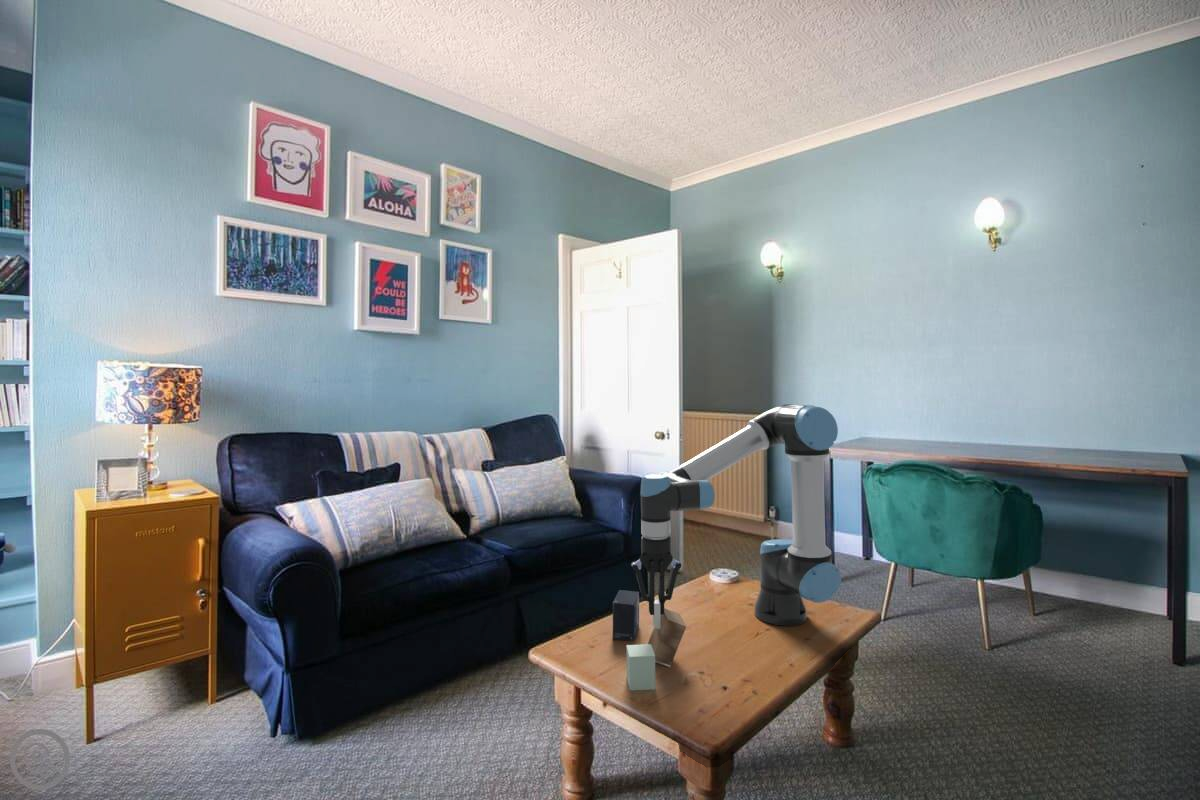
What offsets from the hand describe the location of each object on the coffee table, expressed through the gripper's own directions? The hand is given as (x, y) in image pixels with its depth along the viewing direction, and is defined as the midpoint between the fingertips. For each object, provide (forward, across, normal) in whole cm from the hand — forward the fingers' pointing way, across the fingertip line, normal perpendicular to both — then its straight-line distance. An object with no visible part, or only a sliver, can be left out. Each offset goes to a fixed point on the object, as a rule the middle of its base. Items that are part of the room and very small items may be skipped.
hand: (656, 626), depth 150 cm
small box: (+9, +6, -17) cm, 20 cm away
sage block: (+9, +6, +11) cm, 15 cm away
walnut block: (+8, 0, 0) cm, 8 cm away
